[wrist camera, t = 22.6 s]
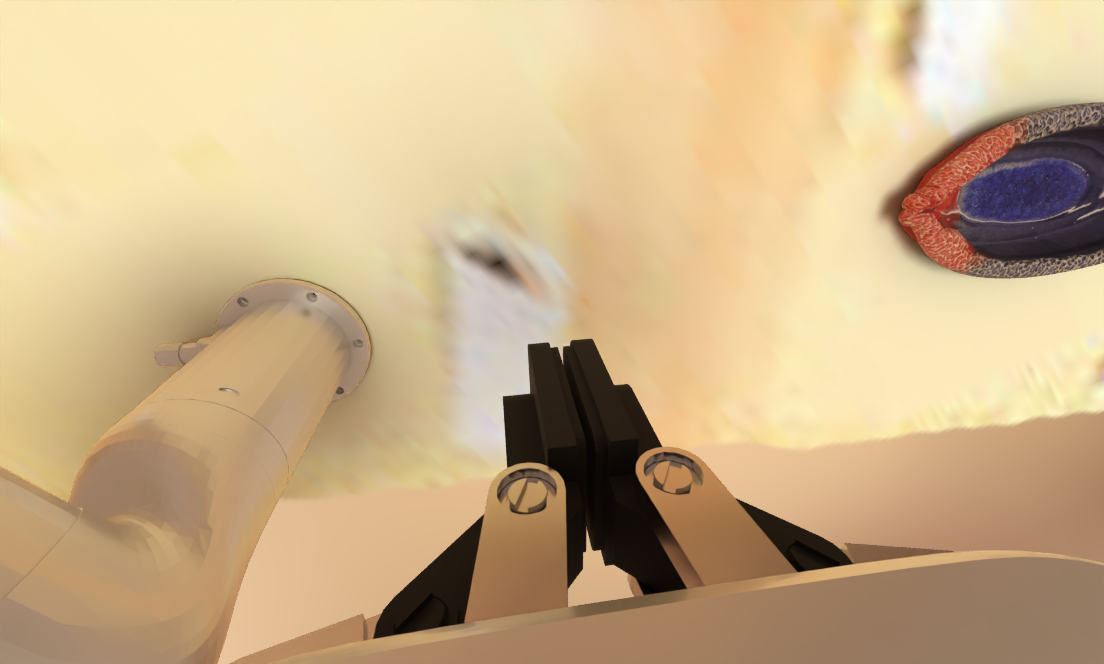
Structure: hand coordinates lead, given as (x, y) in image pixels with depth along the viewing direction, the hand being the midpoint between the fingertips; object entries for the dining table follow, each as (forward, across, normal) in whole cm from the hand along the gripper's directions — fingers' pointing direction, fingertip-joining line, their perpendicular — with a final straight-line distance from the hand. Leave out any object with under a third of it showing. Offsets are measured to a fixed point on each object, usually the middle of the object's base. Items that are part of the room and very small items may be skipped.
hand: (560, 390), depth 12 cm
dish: (+30, -50, +2) cm, 58 cm away
